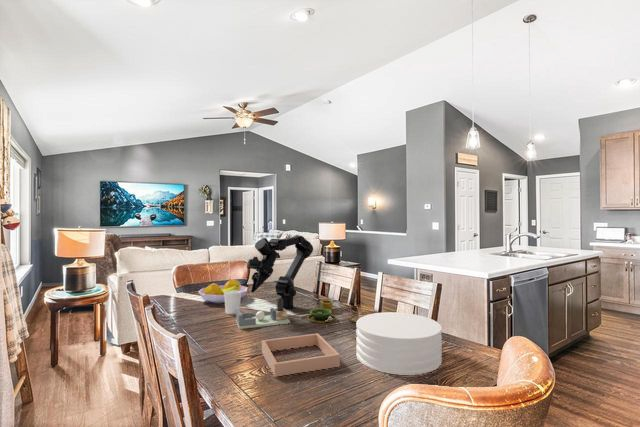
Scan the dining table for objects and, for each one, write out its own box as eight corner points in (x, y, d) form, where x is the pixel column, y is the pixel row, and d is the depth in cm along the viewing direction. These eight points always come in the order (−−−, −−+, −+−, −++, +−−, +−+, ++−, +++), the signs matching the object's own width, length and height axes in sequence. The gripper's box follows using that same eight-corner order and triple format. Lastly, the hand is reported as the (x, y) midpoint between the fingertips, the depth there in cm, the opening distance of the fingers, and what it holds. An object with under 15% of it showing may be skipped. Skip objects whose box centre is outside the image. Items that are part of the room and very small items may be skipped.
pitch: (283, 315, 169) (283, 304, 169) (290, 323, 158) (289, 310, 158) (235, 320, 162) (235, 308, 162) (239, 329, 151) (239, 315, 151)
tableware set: (295, 317, 169) (295, 303, 169) (341, 307, 186) (341, 295, 186) (354, 343, 136) (353, 326, 136) (403, 328, 152) (403, 313, 152)
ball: (264, 318, 162) (263, 309, 162) (265, 320, 159) (265, 311, 159) (255, 319, 161) (255, 310, 161) (256, 321, 157) (256, 312, 157)
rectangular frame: (318, 344, 133) (318, 333, 133) (339, 367, 114) (339, 354, 114) (261, 351, 126) (261, 340, 126) (274, 377, 107) (274, 364, 107)
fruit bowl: (195, 297, 206) (195, 278, 206) (242, 293, 218) (242, 274, 217) (201, 309, 181) (201, 287, 181) (254, 303, 192) (254, 282, 192)
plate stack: (426, 342, 135) (426, 312, 135) (454, 376, 107) (454, 338, 107) (352, 342, 135) (352, 312, 135) (361, 377, 107) (361, 338, 107)
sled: (283, 314, 166) (283, 297, 166) (287, 318, 161) (287, 300, 161) (270, 316, 164) (270, 298, 164) (272, 320, 159) (272, 301, 159)
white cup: (243, 310, 179) (242, 290, 179) (237, 315, 171) (237, 294, 171) (227, 310, 180) (227, 290, 180) (221, 314, 172) (221, 293, 172)
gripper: (249, 259, 179) (234, 286, 171) (258, 246, 163) (242, 276, 155) (269, 269, 181) (255, 297, 172) (279, 258, 165) (265, 288, 157)
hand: (254, 289), depth 164 cm, fingers open, 9 cm apart
